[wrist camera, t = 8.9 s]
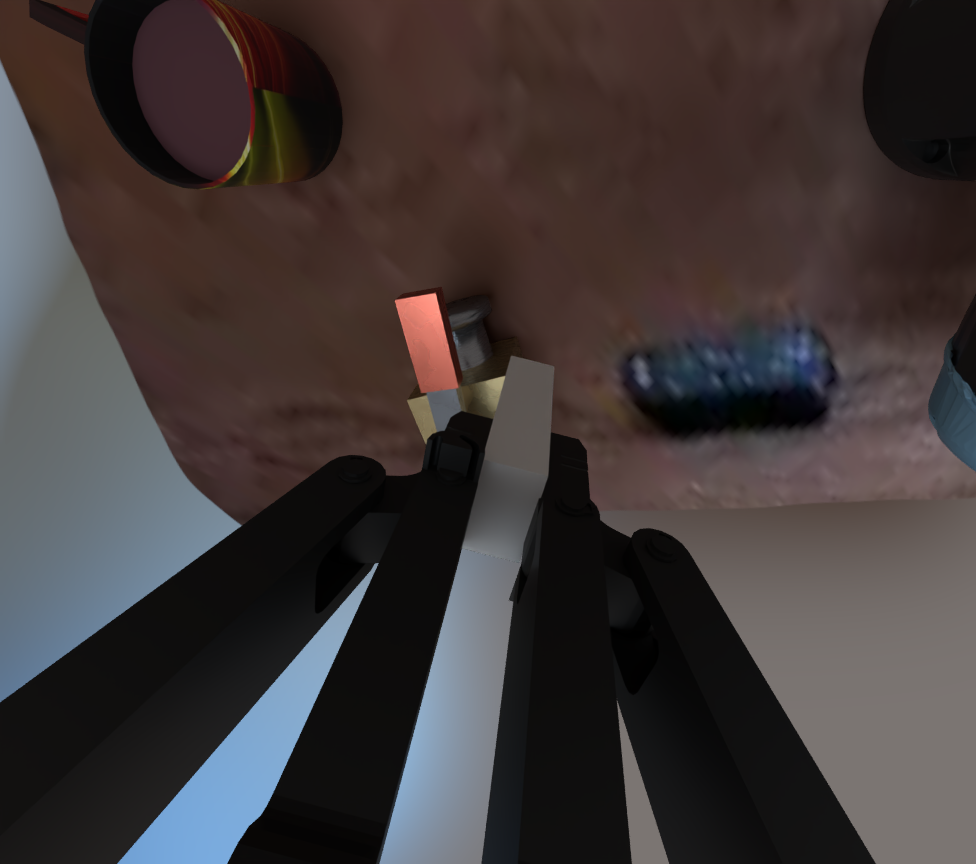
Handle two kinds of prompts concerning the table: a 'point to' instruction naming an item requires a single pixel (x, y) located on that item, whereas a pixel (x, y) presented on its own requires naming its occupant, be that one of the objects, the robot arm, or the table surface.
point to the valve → (471, 363)
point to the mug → (205, 90)
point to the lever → (433, 352)
